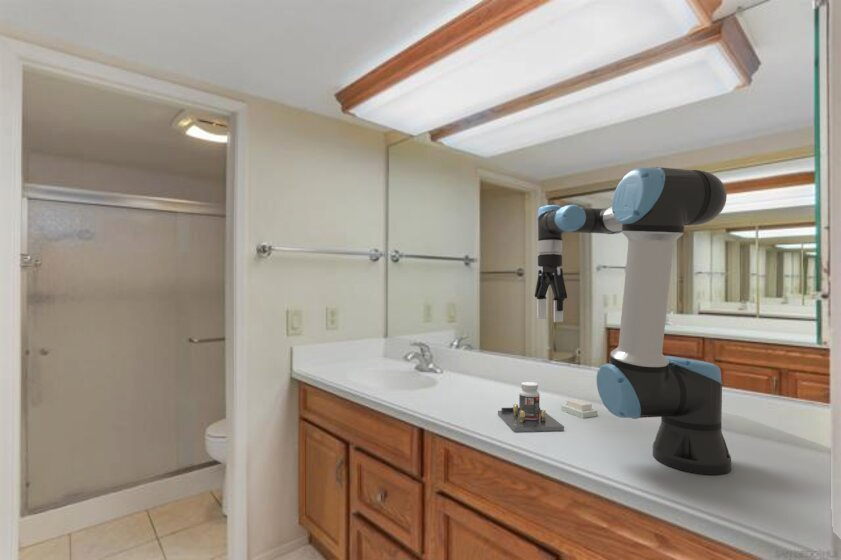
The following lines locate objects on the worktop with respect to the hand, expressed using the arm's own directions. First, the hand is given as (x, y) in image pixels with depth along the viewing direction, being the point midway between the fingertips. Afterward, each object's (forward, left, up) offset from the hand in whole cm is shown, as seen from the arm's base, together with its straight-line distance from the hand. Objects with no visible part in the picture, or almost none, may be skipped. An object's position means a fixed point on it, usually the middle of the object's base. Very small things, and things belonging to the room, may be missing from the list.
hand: (549, 320), depth 138 cm
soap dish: (-4, -8, -29) cm, 30 cm away
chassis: (-12, +11, -29) cm, 33 cm away
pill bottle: (-12, +11, -28) cm, 32 cm away
